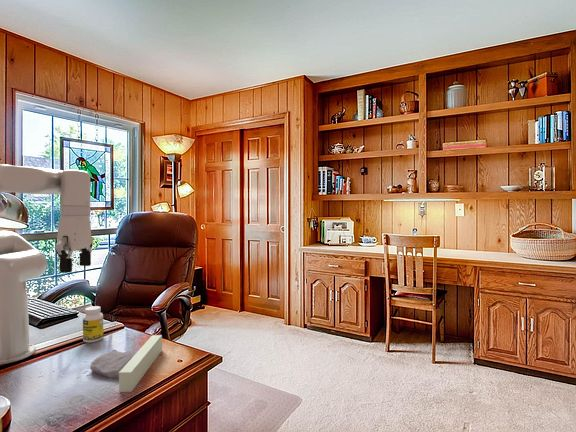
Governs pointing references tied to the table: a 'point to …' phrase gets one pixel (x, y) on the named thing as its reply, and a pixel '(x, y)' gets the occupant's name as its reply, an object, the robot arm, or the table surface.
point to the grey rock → (111, 363)
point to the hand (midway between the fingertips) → (76, 268)
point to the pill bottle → (92, 324)
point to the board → (139, 364)
